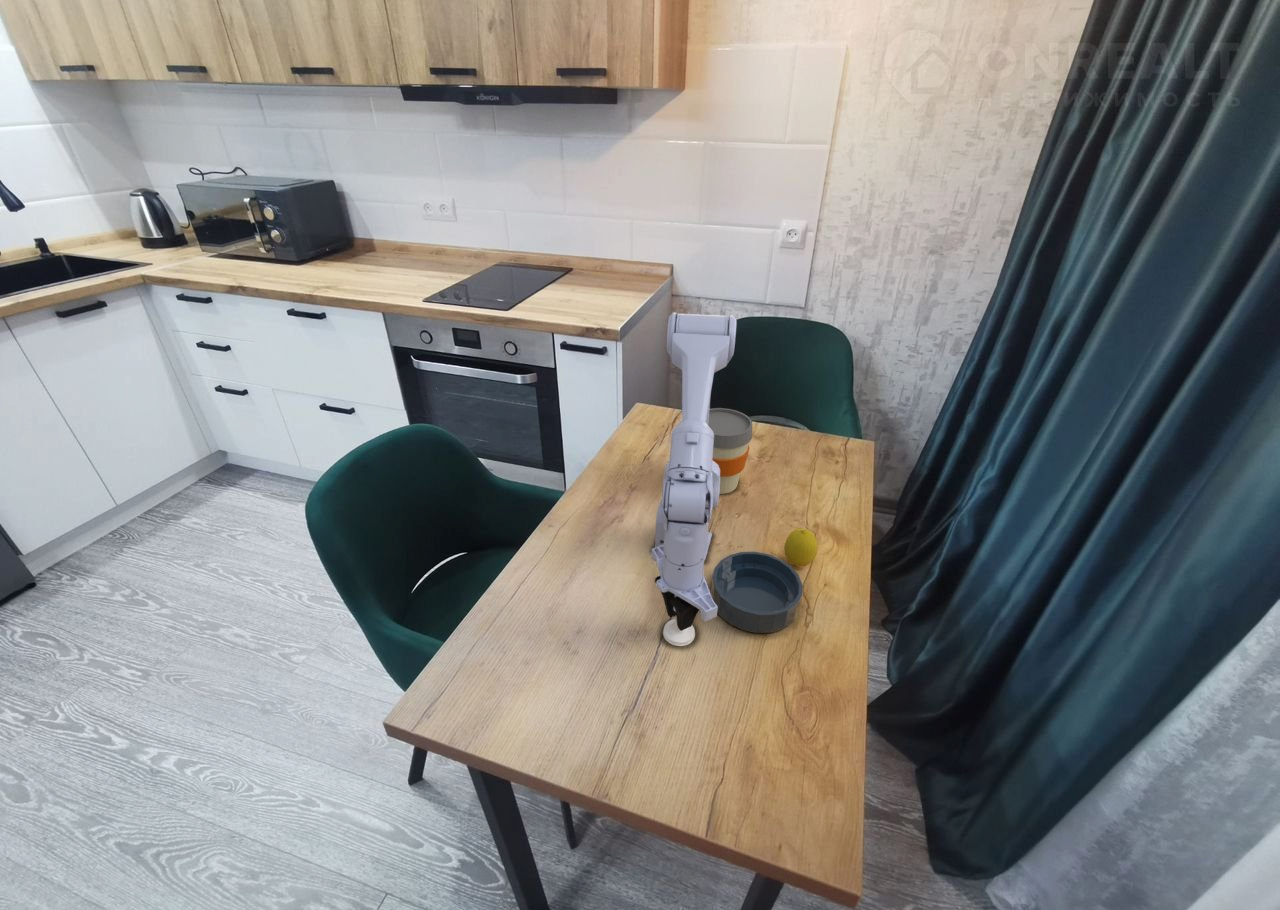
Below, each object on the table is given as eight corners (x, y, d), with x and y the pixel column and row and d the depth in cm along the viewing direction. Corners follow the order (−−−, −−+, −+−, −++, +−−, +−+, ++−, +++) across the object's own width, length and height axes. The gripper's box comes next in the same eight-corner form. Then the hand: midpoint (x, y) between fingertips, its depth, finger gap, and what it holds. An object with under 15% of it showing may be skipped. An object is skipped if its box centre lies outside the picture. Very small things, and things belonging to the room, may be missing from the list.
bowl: (703, 624, 89) (705, 603, 87) (718, 564, 101) (720, 544, 98) (796, 644, 86) (800, 623, 83) (799, 580, 97) (803, 560, 95)
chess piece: (673, 651, 84) (675, 603, 79) (657, 628, 88) (658, 581, 83) (701, 638, 86) (705, 591, 81) (684, 616, 90) (687, 570, 85)
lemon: (814, 578, 98) (822, 542, 94) (781, 573, 99) (788, 538, 95) (812, 556, 103) (820, 522, 98) (781, 552, 103) (787, 518, 99)
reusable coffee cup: (754, 477, 125) (763, 417, 117) (731, 506, 115) (738, 442, 108) (704, 460, 130) (708, 402, 122) (677, 486, 121) (680, 425, 113)
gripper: (634, 532, 82) (633, 598, 89) (688, 596, 72) (683, 666, 79) (674, 517, 85) (671, 583, 92) (733, 577, 75) (724, 646, 82)
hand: (679, 620), depth 86 cm, fingers closed
